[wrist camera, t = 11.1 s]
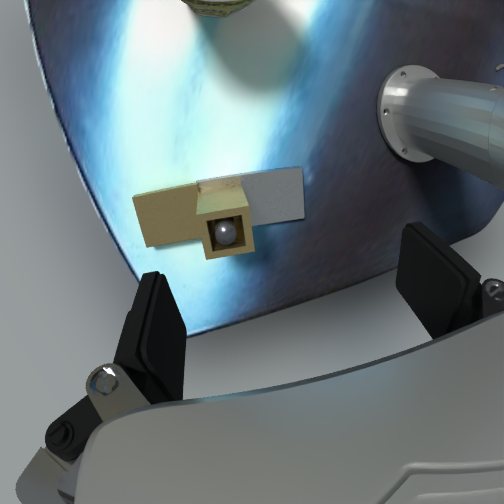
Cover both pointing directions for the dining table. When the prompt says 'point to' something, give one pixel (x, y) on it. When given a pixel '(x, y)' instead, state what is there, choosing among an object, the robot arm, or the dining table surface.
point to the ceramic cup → (217, 7)
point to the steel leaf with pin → (262, 198)
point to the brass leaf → (195, 217)
